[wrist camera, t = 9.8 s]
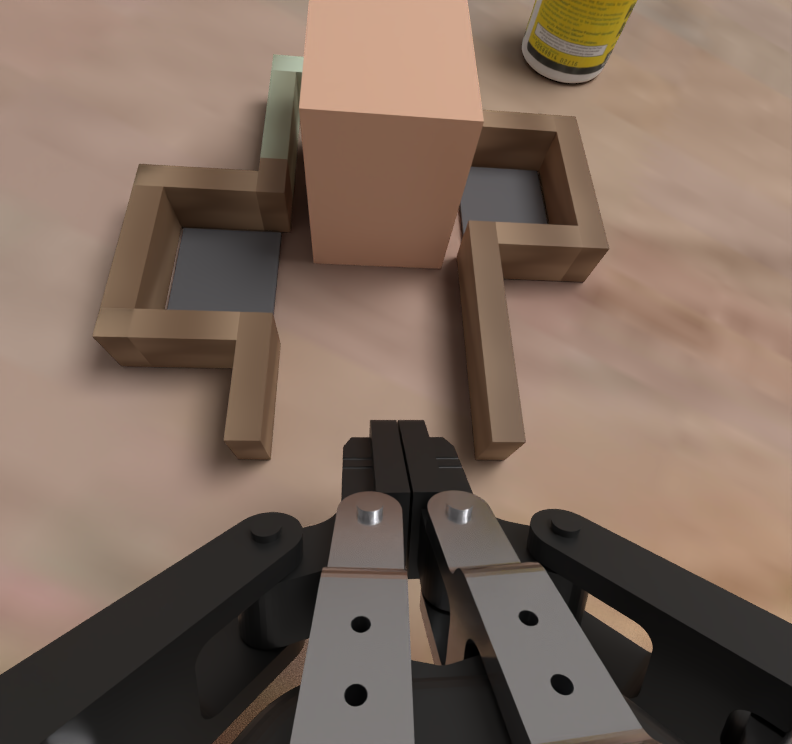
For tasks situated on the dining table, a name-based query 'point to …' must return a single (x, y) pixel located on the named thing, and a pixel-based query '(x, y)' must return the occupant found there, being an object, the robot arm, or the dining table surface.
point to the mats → (259, 251)
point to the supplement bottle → (573, 36)
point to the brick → (387, 128)
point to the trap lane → (271, 211)
